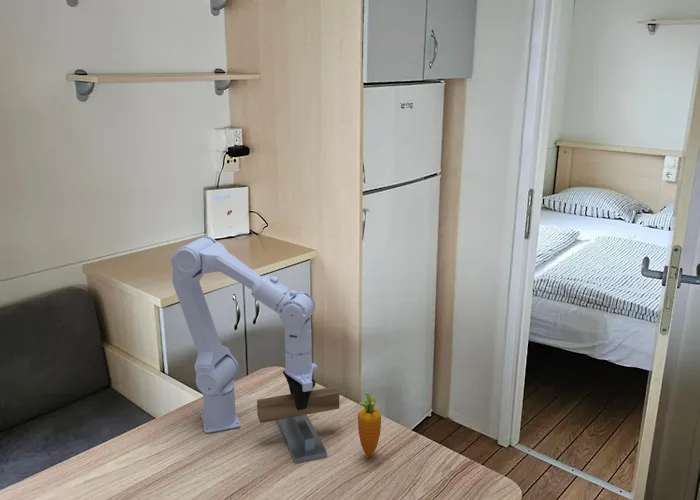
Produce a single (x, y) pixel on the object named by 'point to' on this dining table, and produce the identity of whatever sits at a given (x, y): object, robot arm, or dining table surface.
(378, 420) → the carrot
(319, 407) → the walnut rod
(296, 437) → the stand
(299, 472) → the dining table surface
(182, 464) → the dining table surface
